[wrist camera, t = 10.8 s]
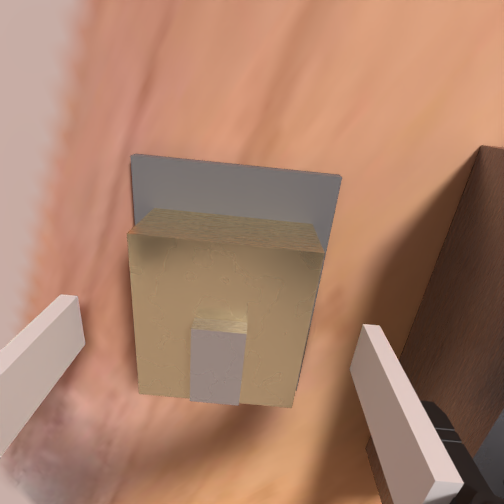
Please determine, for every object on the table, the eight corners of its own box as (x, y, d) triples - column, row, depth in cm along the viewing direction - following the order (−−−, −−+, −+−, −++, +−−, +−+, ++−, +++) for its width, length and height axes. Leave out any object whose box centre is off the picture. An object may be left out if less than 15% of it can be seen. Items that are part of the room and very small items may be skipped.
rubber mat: (295, 383, 21) (296, 390, 21) (147, 369, 21) (144, 376, 21) (339, 174, 16) (342, 177, 15) (135, 153, 15) (130, 155, 15)
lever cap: (287, 359, 20) (293, 421, 16) (159, 347, 20) (133, 406, 16) (312, 224, 16) (328, 261, 12) (154, 207, 16) (118, 240, 12)
